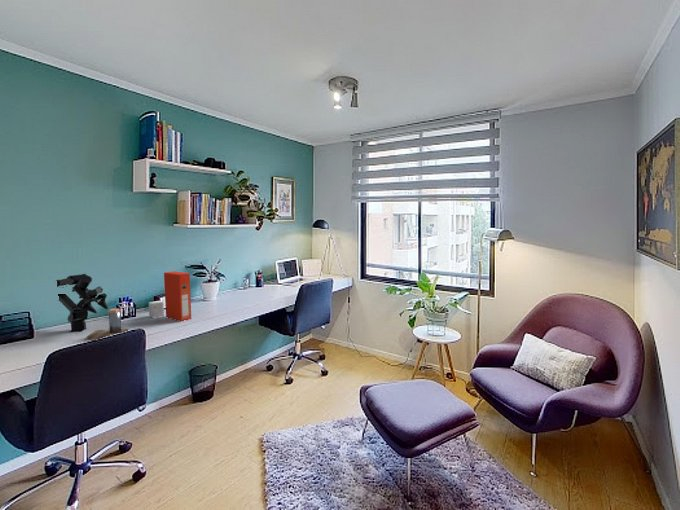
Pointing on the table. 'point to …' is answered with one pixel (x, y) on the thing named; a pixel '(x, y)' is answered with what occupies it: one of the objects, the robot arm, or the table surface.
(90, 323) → the table surface
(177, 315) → the file binder
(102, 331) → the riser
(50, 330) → the table surface
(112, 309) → the cargo block
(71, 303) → the robot arm
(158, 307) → the small box
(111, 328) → the tin
